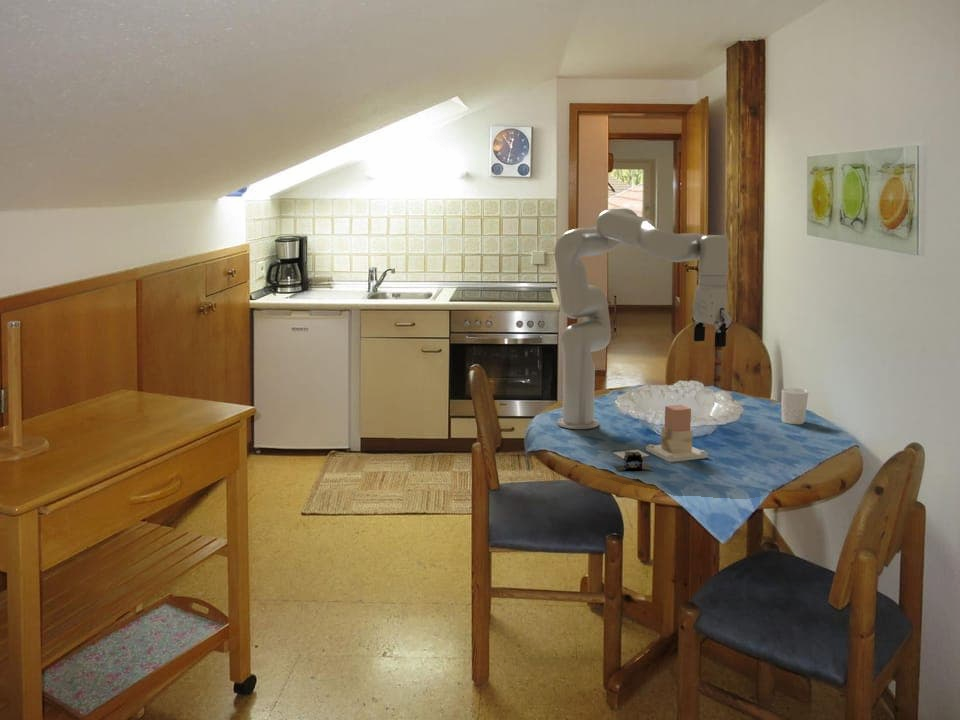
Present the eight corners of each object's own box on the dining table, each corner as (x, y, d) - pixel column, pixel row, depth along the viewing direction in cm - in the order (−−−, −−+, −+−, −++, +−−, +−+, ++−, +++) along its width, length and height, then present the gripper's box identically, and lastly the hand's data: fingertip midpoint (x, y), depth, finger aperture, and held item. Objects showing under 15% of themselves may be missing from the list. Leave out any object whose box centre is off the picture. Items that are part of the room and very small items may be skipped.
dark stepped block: (612, 475, 246) (612, 458, 245) (606, 467, 253) (606, 450, 252) (659, 473, 246) (660, 456, 246) (652, 465, 254) (652, 448, 253)
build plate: (646, 450, 266) (646, 444, 265) (682, 446, 270) (683, 440, 270) (669, 462, 255) (669, 456, 254) (707, 457, 259) (707, 451, 259)
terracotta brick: (664, 427, 262) (665, 406, 261) (680, 425, 264) (681, 404, 263) (674, 431, 258) (675, 410, 257) (690, 430, 259) (691, 408, 258)
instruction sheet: (612, 453, 263) (612, 452, 263) (638, 450, 266) (638, 449, 266) (623, 458, 258) (623, 458, 257) (649, 455, 260) (649, 455, 260)
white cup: (774, 419, 301) (776, 388, 299) (795, 418, 303) (798, 387, 301) (789, 425, 293) (791, 394, 291) (811, 424, 295) (813, 392, 294)
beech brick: (661, 448, 264) (661, 427, 263) (679, 445, 266) (680, 425, 265) (672, 453, 258) (673, 432, 257) (691, 451, 260) (692, 430, 259)
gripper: (682, 278, 263) (680, 339, 266) (719, 285, 247) (716, 349, 251) (705, 277, 266) (702, 338, 269) (743, 284, 250) (740, 348, 253)
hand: (709, 343), depth 260 cm, fingers open, 9 cm apart
